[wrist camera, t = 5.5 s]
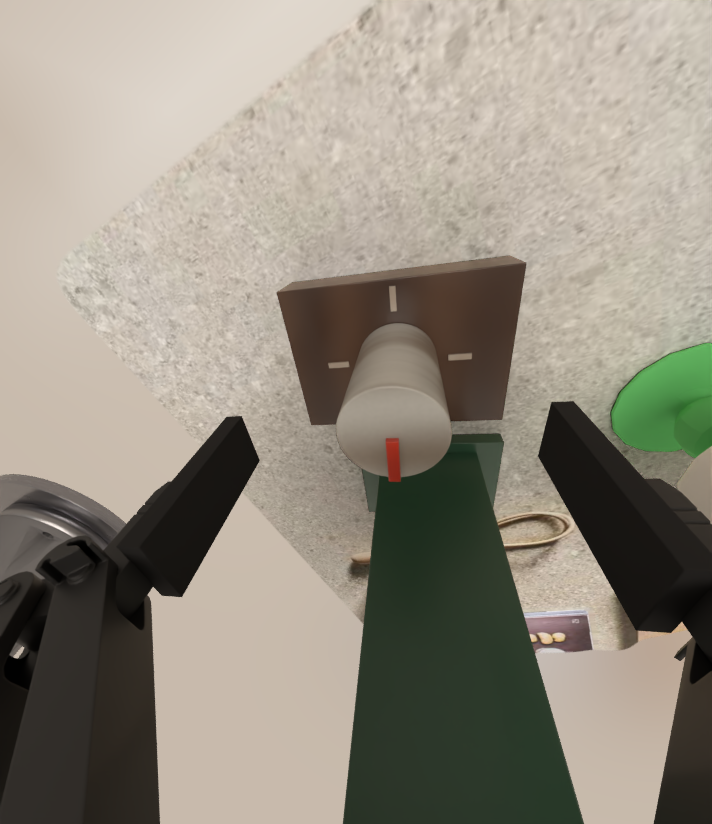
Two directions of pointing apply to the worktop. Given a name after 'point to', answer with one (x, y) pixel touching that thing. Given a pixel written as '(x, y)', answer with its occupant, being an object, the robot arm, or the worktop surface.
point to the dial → (395, 405)
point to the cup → (673, 416)
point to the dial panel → (418, 306)
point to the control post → (450, 662)
